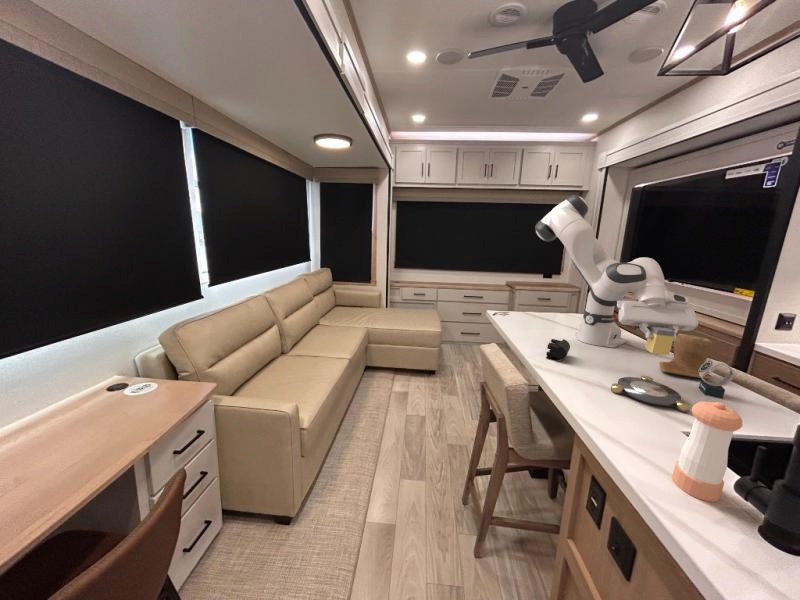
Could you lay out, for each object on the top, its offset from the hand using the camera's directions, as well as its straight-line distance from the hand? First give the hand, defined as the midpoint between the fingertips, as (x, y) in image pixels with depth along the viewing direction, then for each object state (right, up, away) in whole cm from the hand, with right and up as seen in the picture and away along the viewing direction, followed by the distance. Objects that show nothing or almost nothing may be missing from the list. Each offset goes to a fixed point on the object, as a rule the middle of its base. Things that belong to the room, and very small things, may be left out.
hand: (661, 338), depth 95 cm
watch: (+23, -19, +8) cm, 30 cm away
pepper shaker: (-19, -27, -31) cm, 45 cm away
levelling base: (0, -19, +4) cm, 19 cm away
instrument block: (0, -4, +2) cm, 4 cm away
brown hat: (+26, -16, +22) cm, 37 cm away
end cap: (-15, -12, +33) cm, 38 cm away
